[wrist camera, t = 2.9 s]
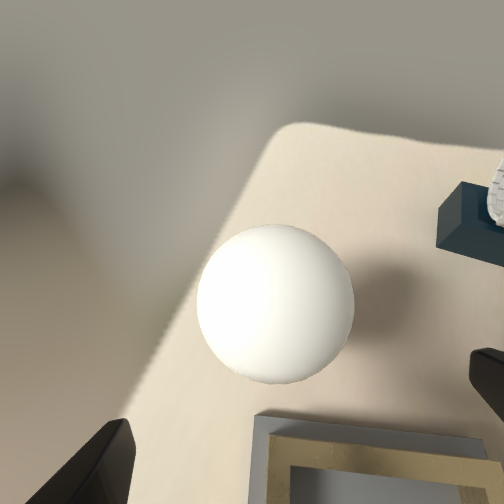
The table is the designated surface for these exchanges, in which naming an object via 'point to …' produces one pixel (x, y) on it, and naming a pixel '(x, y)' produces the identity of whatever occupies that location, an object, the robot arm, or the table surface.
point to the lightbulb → (275, 304)
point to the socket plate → (367, 466)
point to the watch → (474, 220)
